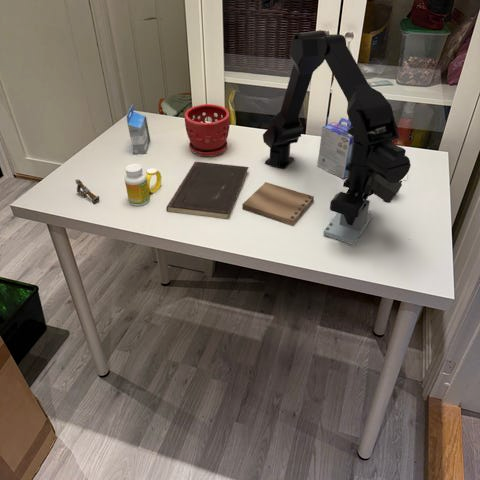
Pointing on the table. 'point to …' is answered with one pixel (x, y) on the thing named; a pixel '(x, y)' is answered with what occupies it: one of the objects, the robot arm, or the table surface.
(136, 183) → the supplement bottle
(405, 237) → the table surface
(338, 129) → the ink cartridge box
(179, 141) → the table surface
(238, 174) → the hardcover book
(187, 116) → the plant pot
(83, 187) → the wooden post with brackets
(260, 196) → the board
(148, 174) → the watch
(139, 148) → the label tape box
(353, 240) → the stub
